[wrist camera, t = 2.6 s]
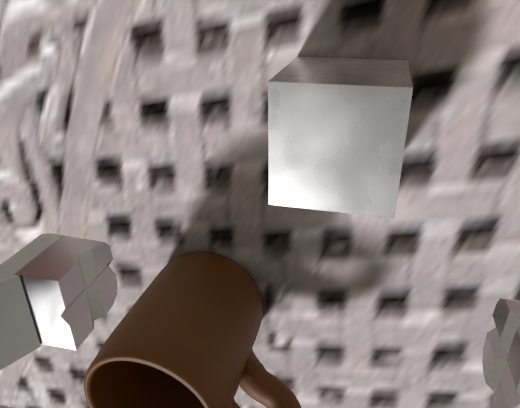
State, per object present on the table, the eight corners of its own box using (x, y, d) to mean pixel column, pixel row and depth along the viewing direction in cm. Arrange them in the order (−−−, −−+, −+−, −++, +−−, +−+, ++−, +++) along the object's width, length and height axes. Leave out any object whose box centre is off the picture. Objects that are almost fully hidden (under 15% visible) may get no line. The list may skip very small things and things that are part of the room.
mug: (346, 312, 28) (329, 448, 20) (298, 381, 32) (266, 519, 24) (178, 228, 28) (93, 328, 20) (150, 306, 32) (69, 417, 24)
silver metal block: (407, 59, 21) (413, 87, 15) (393, 163, 23) (394, 218, 18) (296, 56, 22) (268, 81, 17) (294, 155, 24) (268, 204, 19)
